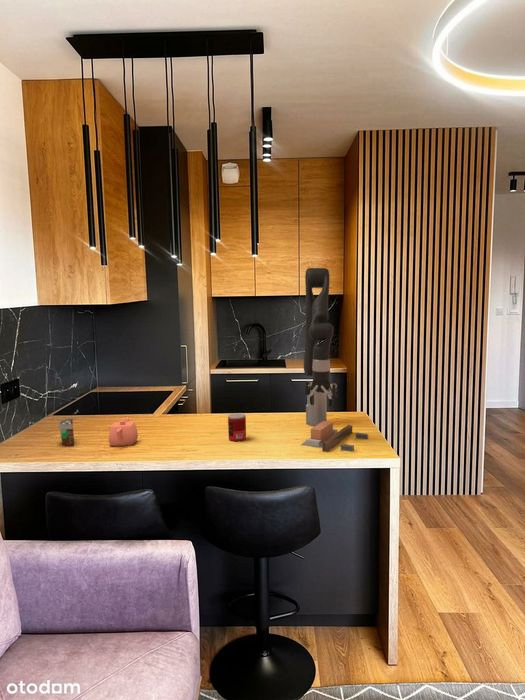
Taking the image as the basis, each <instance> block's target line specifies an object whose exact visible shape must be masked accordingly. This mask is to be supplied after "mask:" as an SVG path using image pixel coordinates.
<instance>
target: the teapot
mask: <svg viewBox="0 0 525 700" xmlns="http://www.w3.org/2000/svg"><path fill="white" fill-rule="evenodd" d="M138 435H139V433H138V429H137V425H136V422H135V421H129V417H128V416H127V417H126V418H125V419H122V420H119V421H116V422H114V423H113V424H112V425H111V426H109V433H108V443H109V445H110V446H115V447H118V446H119V447H121V446H126V445H129V446H133V445H135V444H136V442H137V440H138Z"/></svg>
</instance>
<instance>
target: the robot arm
mask: <svg viewBox="0 0 525 700" xmlns="http://www.w3.org/2000/svg"><path fill="white" fill-rule="evenodd" d="M304 277H305V278H304V281H305V285H304V286H305V317H304V318H305V323H304V325H305V326H304V327H305V328H304V330H305V331H304V332H305V335H304V336H305V337H304V338H305V342H304V345H305V346H304V356H303V372H304V374H305V375H306V376H308V377H311V376H312V381H311V380H307V381H306V382H305V395H306V396H307V398H306V399H307V404H306V405H305V424H306V425H309V426H313V427H315V426H316V425H318V424H319V423H321V422H323V421H328V419H327V414H328V413H327V409H328V408H327V405H328V407H329V408H332V407H333V406H334V399H336V398H337V397H338V383H336V382H335V383H331V362H330V348H331V344H332V339H333V337H334V333H335V329H334V326H333V324H331V323H330V322H328V320H329V295H330V282H331V281H330V280H331V279H330V278H331V277H330V271H329V269H328V268H326V267H308V268H306V270H305V276H304ZM313 289H321V291H320V293H319V294H318V296H316V297H315V295H314V292H313ZM321 340H322V341H323V340H324V342H323V343H321V344H318V342H319V341H321ZM330 388H331V389H332V390H331V389H330ZM327 397H328V401H327ZM327 403H328V404H327Z"/></svg>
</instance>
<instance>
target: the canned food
mask: <svg viewBox="0 0 525 700" xmlns="http://www.w3.org/2000/svg"><path fill="white" fill-rule="evenodd" d="M227 425H228V429H227V431H228V432H227V433H228V439H229V441H230V442H233V441H234V442H235V443H238V442H239V441H240V442H243V440H244V441H245V440H246V439H247V418H246V414H245V413H242V412H238V413H237V412H235V413H234V412H233V413H230V414H228V415H227ZM234 442H233V443H234ZM240 442H239V443H240Z"/></svg>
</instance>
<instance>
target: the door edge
mask: <svg viewBox="0 0 525 700" xmlns="http://www.w3.org/2000/svg"><path fill="white" fill-rule="evenodd" d="M351 434H353V424H347V425H345V426H344V427H343V428H341V429H340V430H339V431H337V433H336V434H334V435H333V436H332V437H330V438H329V439H327V440H326V441H325V442H323V443H322V448H321V449H322V452H323V453H327V452H329V451H330V450H332V449H333V448H335V446H337V445H338V444H339V443H341V442H342V441H343V440H345V439H346V438H347V437H349V436H350V435H351Z"/></svg>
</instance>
